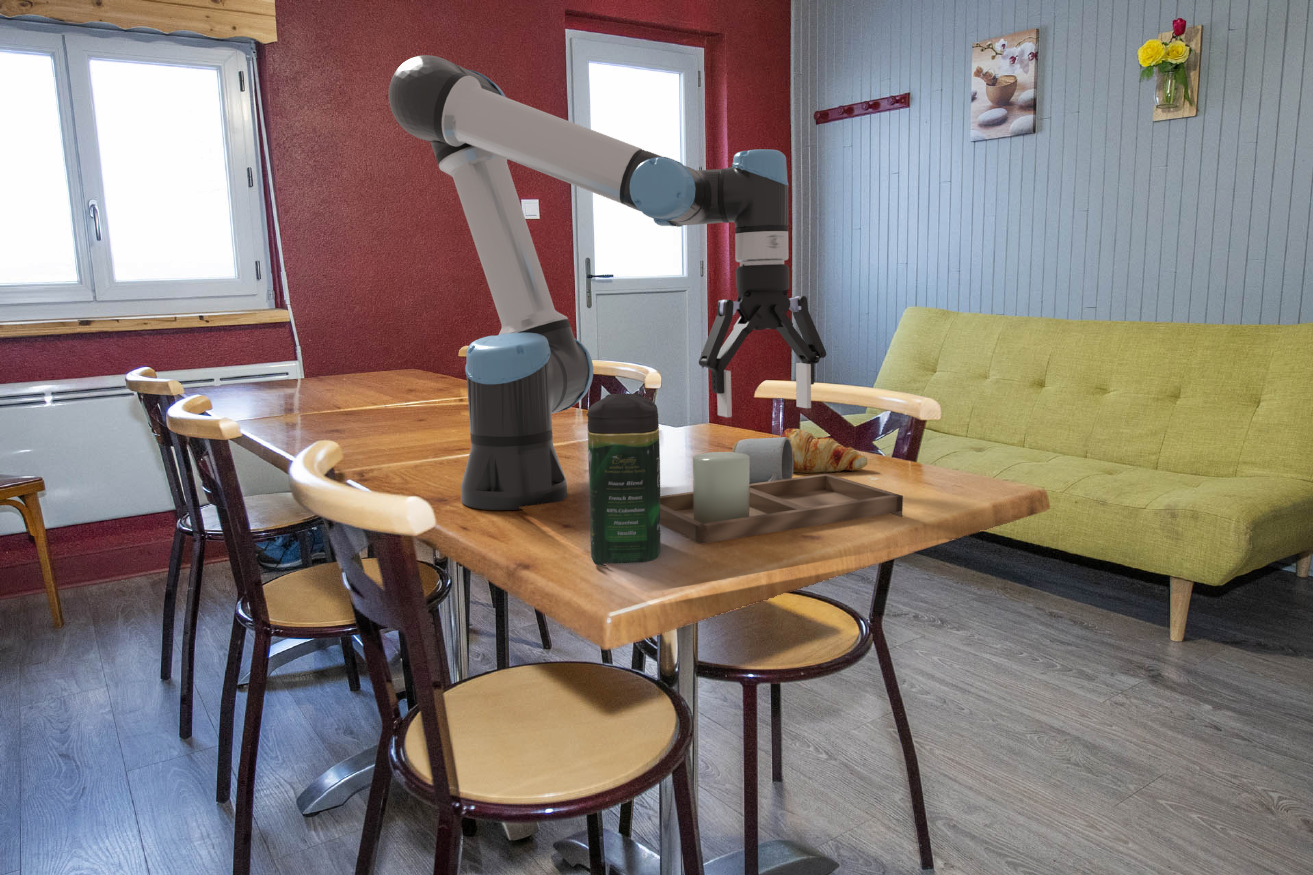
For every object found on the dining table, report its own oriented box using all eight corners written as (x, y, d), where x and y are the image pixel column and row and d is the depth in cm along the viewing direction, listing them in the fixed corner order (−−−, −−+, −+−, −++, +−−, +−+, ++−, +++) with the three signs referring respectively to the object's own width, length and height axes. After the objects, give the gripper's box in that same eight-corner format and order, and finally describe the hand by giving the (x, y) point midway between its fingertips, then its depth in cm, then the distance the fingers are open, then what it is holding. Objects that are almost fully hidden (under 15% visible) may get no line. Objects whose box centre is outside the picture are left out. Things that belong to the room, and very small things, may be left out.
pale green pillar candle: (710, 529, 112) (710, 464, 111) (683, 517, 118) (682, 455, 117) (760, 522, 115) (760, 458, 114) (731, 510, 121) (730, 449, 120)
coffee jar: (662, 571, 100) (658, 399, 97) (588, 572, 100) (582, 401, 97) (661, 545, 110) (658, 388, 106) (594, 547, 110) (589, 390, 107)
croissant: (868, 489, 152) (873, 442, 154) (863, 472, 143) (867, 422, 145) (741, 480, 159) (747, 435, 161) (728, 462, 149) (735, 415, 152)
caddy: (699, 552, 107) (699, 526, 106) (640, 521, 121) (639, 498, 120) (902, 518, 119) (902, 495, 119) (827, 494, 134) (827, 473, 133)
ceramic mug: (741, 480, 144) (741, 431, 142) (794, 483, 141) (794, 433, 140) (722, 497, 134) (721, 444, 133) (778, 500, 131) (778, 447, 130)
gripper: (697, 265, 124) (702, 422, 127) (849, 260, 135) (850, 406, 138) (672, 266, 131) (677, 416, 134) (818, 262, 141) (820, 401, 145)
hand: (765, 411), depth 136 cm, fingers open, 13 cm apart
